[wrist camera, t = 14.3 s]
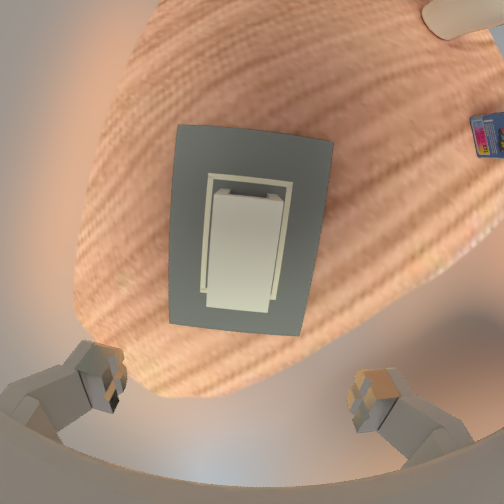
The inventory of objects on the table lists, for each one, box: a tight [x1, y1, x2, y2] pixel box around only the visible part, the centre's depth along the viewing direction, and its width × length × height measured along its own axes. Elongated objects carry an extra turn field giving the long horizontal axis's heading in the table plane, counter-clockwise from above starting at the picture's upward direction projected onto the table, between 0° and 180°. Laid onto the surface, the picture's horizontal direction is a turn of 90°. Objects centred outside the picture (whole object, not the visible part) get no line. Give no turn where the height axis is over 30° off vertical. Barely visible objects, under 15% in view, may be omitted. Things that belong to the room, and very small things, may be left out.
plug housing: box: [206, 188, 284, 313], centre depth 24 cm, size 9×5×5 cm, turn 174°
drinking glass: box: [422, 0, 504, 40], centre depth 12 cm, size 7×7×15 cm
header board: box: [169, 125, 334, 336], centre depth 25 cm, size 20×14×4 cm
